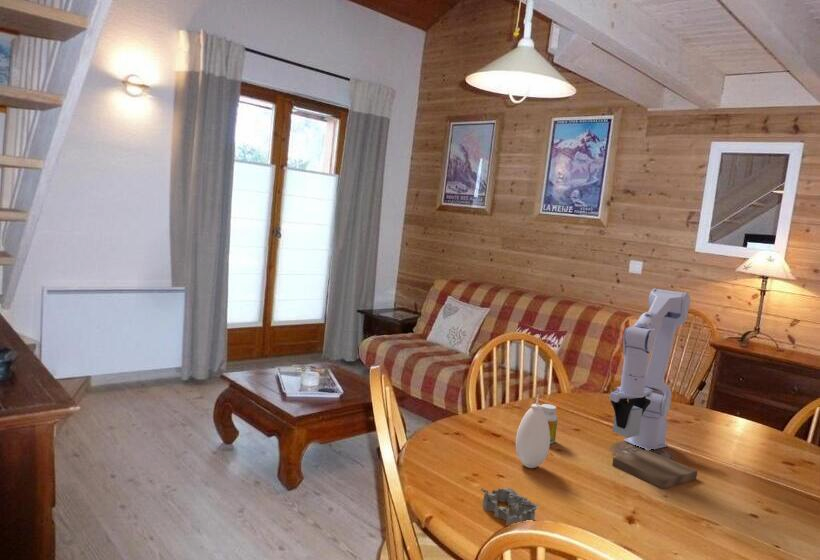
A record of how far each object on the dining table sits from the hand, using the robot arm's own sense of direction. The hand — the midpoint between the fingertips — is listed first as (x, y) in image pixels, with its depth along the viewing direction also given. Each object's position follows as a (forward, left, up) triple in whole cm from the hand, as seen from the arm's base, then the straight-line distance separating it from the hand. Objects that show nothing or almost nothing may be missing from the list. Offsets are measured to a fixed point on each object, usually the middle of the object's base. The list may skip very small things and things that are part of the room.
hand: (627, 426), depth 150 cm
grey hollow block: (+47, +8, -10) cm, 49 cm away
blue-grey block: (0, 0, -2) cm, 2 cm away
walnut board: (-2, +8, -9) cm, 12 cm away
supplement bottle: (+9, -18, -10) cm, 23 cm away
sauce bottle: (+26, -7, -10) cm, 29 cm away
